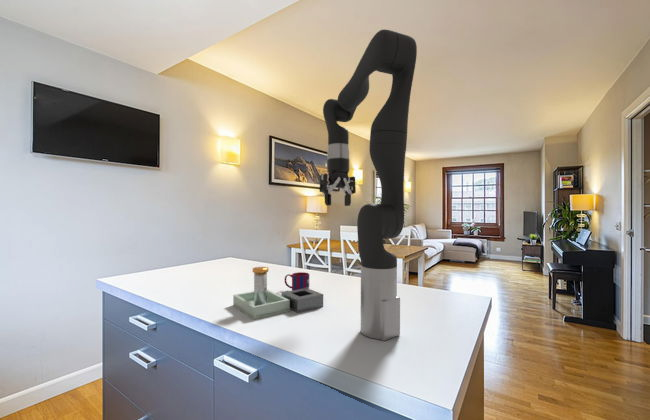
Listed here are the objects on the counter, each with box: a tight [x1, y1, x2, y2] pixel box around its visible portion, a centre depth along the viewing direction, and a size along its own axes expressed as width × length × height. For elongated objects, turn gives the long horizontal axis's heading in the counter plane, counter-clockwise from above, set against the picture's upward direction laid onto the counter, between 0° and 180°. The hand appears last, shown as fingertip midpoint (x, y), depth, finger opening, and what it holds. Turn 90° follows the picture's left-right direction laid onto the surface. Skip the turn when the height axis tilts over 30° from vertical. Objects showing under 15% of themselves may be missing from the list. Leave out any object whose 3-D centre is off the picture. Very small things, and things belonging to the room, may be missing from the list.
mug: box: [284, 271, 310, 291], centre depth 117 cm, size 7×10×7 cm
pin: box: [252, 266, 269, 306], centre depth 96 cm, size 5×5×12 cm
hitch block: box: [280, 288, 324, 314], centre depth 99 cm, size 10×10×4 cm
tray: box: [232, 289, 291, 320], centre depth 96 cm, size 16×12×3 cm
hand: (338, 205), depth 103 cm, fingers open, 8 cm apart
